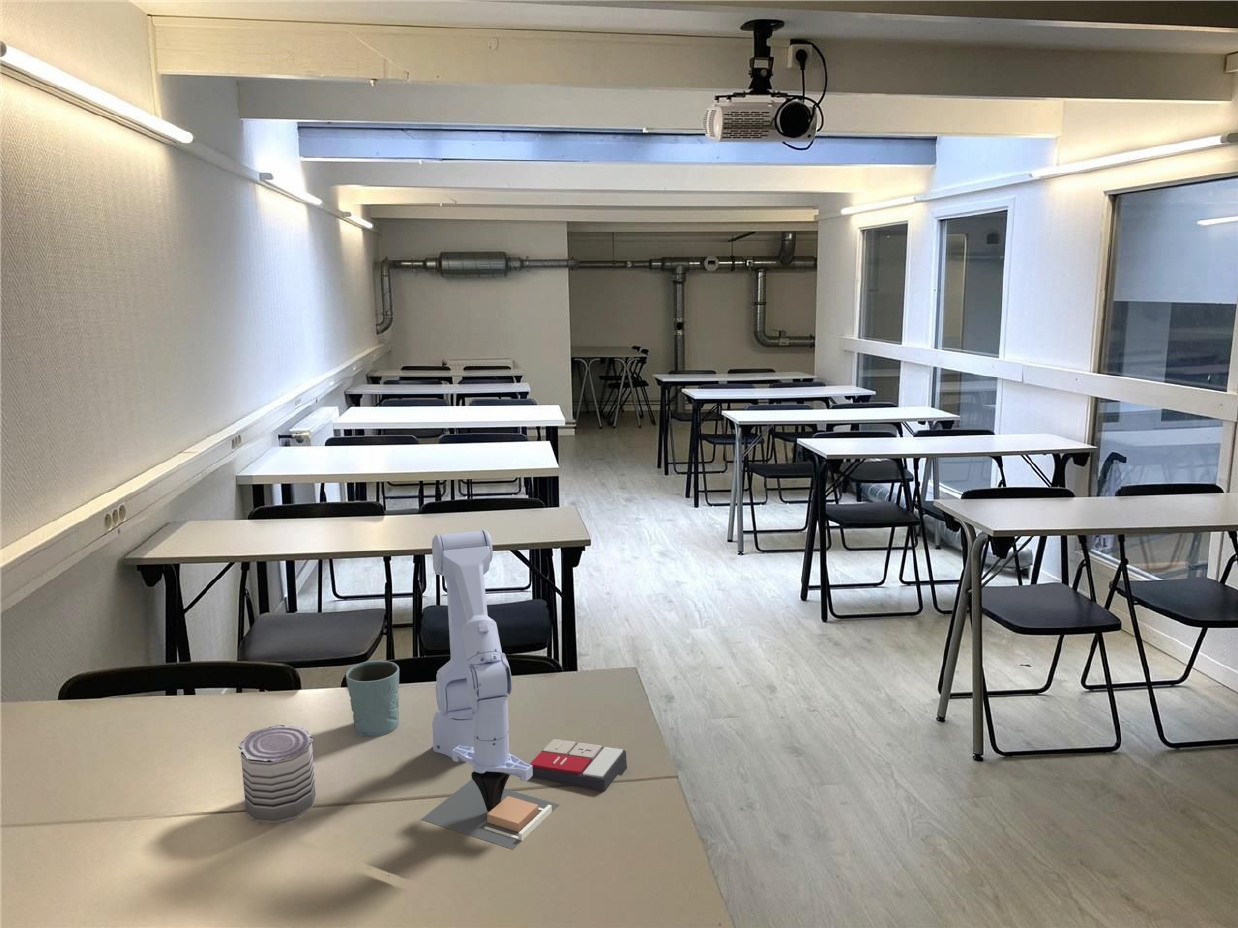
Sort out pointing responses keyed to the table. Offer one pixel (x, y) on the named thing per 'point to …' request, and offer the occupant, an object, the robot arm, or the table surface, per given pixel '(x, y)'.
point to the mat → (484, 816)
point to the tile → (512, 813)
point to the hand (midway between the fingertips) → (493, 808)
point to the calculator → (579, 764)
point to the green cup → (374, 697)
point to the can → (278, 773)
